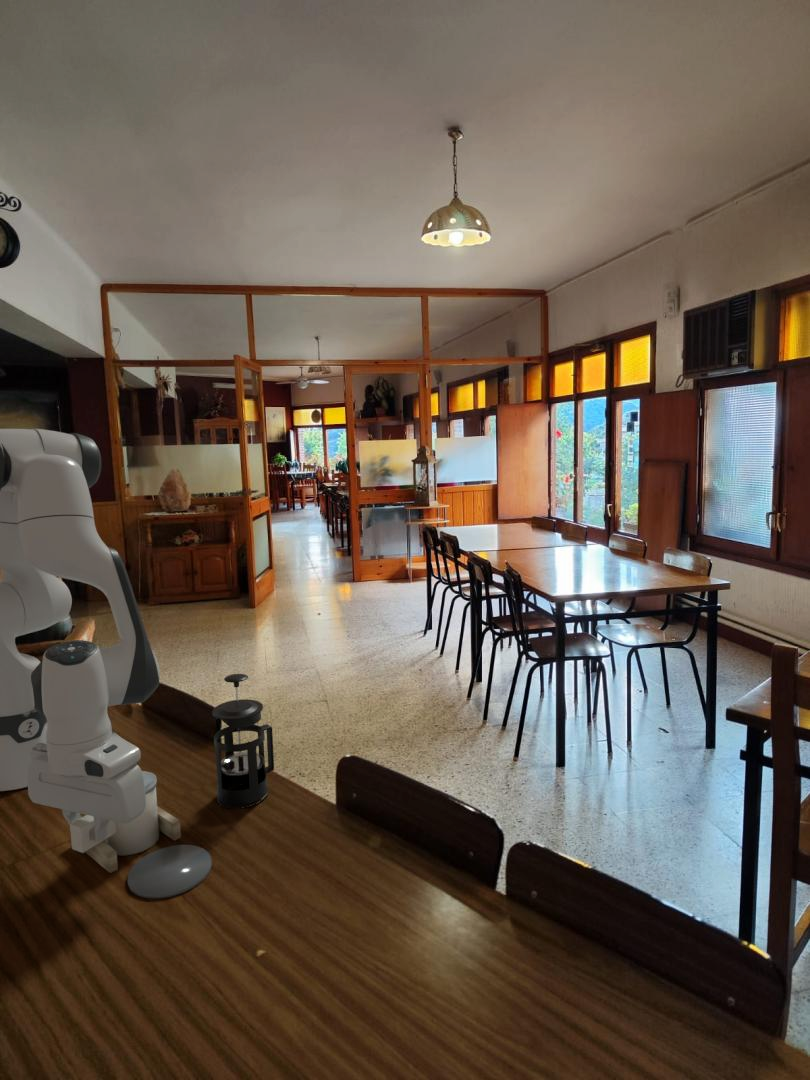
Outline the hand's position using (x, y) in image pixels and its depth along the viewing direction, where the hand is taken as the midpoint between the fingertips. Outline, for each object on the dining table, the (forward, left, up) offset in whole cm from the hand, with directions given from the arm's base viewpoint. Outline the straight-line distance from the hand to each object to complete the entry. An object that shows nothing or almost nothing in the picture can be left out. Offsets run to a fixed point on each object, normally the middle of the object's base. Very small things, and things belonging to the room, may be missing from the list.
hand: (89, 836), depth 101 cm
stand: (-3, +7, -5) cm, 9 cm away
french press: (0, +28, -6) cm, 29 cm away
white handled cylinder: (-1, +5, -5) cm, 7 cm away
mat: (+10, +7, -5) cm, 14 cm away
